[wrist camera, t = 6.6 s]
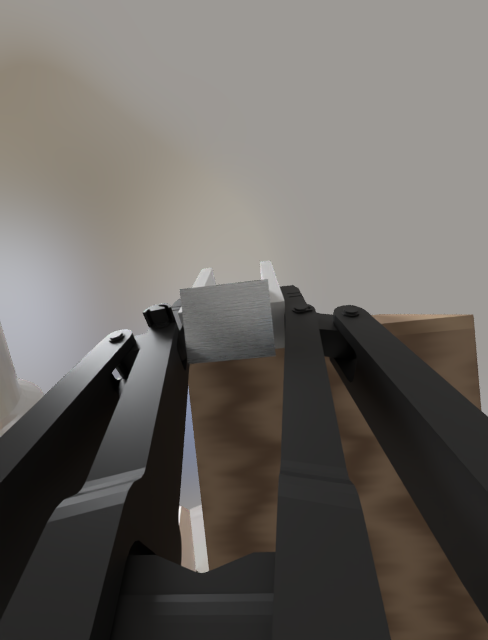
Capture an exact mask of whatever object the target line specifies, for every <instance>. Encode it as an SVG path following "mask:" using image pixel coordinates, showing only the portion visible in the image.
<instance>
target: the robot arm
mask: <svg viewBox="0 0 488 640" xmlns="http://www.w3.org/2000/svg"><path fill="white" fill-rule="evenodd" d="M260 268H261V280H264V279H268V284H269V294H270V304H271V314H272V323H273V333H274V343H275V349H278V348H285V351H284V380H283V408H282V436H281V464H280V472H279V481H278V501H277V525H276V550H275V552H253V553H251V554H248V555H246V556H244V557H241V558H239V559H236V560H234V561H232V562H229V563H227V564H225V565H222V566H220V567H218V568H215V569H213V570H210V571H208V572H205V573H197V572H195V571H192V570H190V569H188V568H185V567H183V566H181V560H182V541H181V533H180V527H179V500H180V488H181V474H182V460H183V447H184V434H185V421H186V407H187V394H188V380H189V367H190V364H188V359H187V350H186V341H185V332H184V323H183V314H182V305H181V299H179V300H177V301H176V302H175V303H174V304H173V306H172V308H171V305H170V304H165V303H162V304H157V305H153V306H151V307H149V308H147V309H146V310H144V312H143V315H144V317H145V319H146V321H147V324H148V326H149V328H148V331H147V333H145V334H141V335H138V336H133V333H132V331H130V330H126V329H125V330H118V331H115V332H113V333H111V334H109V335H108V336H106V337H105V338H104V339H103V340H102V341H101V342H100V343H99V344H98V345H97V346H96V347H95V348H93V349H92V350H91V351H90V352H89V353H88V354H87V355H86V356H85V357H84V358H83V359H82V360H81V361H80V362H79V363H78V364H77V365H76V366H75V367H74V368H73V369H71V370H70V371H69V372H68V373H67V374H66V375H65V376H64V377H63V378H62V379H61V380H60V381H59V382H58V383H57V384H56V385H55V386H54V387H53V388H51V390H49V391H48V392H47V393H46V394H45V395H44V394H43V392H42V390H41V389H40V388H39V387H38V386H37V385H35V384H34V383H32V382H29V381H26V380H22V379H18V378H17V376H16V373H15V369H14V366H13V363H12V359H11V356H10V353H9V349H8V346H7V343H6V340H5V336H4V333H3V330H2V326H1V323H0V640H391V636H390V632H389V627H388V623H387V618H386V614H385V609H384V605H383V600H382V596H381V591H380V587H379V582H378V578H377V573H376V569H375V564H374V560H373V555H372V551H371V546H370V542H369V537H368V533H367V528H366V523H365V519H364V514H363V510H362V506H361V502H360V499H359V495H358V492H357V490H356V487H355V485H354V484H353V483H352V482H351V481H350V479H349V476H348V472H347V468H346V463H345V458H344V453H343V448H342V443H341V438H340V433H339V428H338V423H337V418H336V412H335V407H334V402H333V397H332V392H331V387H330V382H329V377H328V372H327V367H326V362H325V357H329V359H330V362H331V363H332V365H333V367H334V368H335V370H336V372H337V373H338V375H339V377H340V378H341V380H342V382H343V383H344V385H345V387H346V388H347V390H348V392H349V394H350V395H351V397H352V399H353V400H354V402H355V404H356V405H357V407H358V409H359V410H360V412H361V414H362V415H363V417H364V419H365V420H366V422H367V424H368V426H369V427H370V429H371V431H372V432H373V434H374V436H375V437H376V439H377V441H378V442H379V444H380V446H381V447H382V449H383V451H384V452H385V454H386V456H387V458H388V459H389V461H390V463H391V464H392V466H393V468H394V469H395V471H396V473H397V474H398V476H399V478H400V479H401V481H402V483H403V484H404V486H405V488H406V490H407V491H408V493H409V495H410V496H411V498H412V500H413V501H414V503H415V505H416V506H417V508H418V510H419V511H420V513H421V515H422V516H423V518H424V520H425V521H426V523H427V525H428V527H429V528H430V530H431V532H432V533H433V535H434V537H435V538H436V540H437V542H438V543H439V545H440V547H441V548H442V550H443V552H444V553H445V555H446V557H447V559H448V560H449V562H450V564H451V565H452V567H453V569H454V570H455V572H456V574H457V575H458V577H459V579H460V580H461V582H462V584H463V585H464V587H465V588H466V590H467V592H468V593H469V595H470V596H471V598H472V600H473V601H474V603H475V604H476V606H477V607H478V609H479V611H480V612H481V614H482V615H483V617H484V618H485V620H486V622H487V623H488V417H487V416H486V415H485V414H484V413H483V412H482V411H481V410H479V409H478V408H477V407H476V406H475V405H474V404H473V403H471V402H470V401H469V400H468V399H467V398H466V397H465V396H463V395H462V394H461V393H460V392H459V391H458V390H456V389H455V388H454V387H453V386H452V385H451V384H450V383H448V382H447V381H446V380H445V379H444V378H443V377H441V376H440V375H439V374H438V373H437V372H436V371H435V370H433V369H432V368H431V367H430V366H429V365H428V364H427V363H425V362H424V361H423V360H422V359H421V358H420V357H418V356H417V355H416V354H415V353H414V352H413V351H412V350H410V349H409V348H408V347H407V346H406V345H405V344H404V343H402V342H401V341H400V340H399V339H398V338H397V337H395V336H394V335H393V334H392V333H391V332H390V331H389V330H387V329H386V328H385V327H384V326H383V325H382V324H381V323H379V322H378V321H377V320H376V319H375V318H374V317H372V316H371V315H370V314H369V313H368V312H367V311H365V310H364V309H362V308H360V307H357V306H353V305H352V306H351V305H346V306H340V307H337V308H336V309H335V310H334V314H333V315H329V314H320V313H316V311H315V308H314V307H313V306H311V305H309V304H306V302H305V300H304V298H303V296H302V294H301V293H300V291H299V289H298V288H297V287H295V286H293V285H292V286H282V287H280V286H279V284H278V281H277V278H276V275H275V272H274V270H273V267H272V264H271V261H262V262H260ZM212 285H216V283H215V278H214V274H213V269H212V268H205V269H202V270H201V272H200V274H199V276H198V277H197V279H196V281H195V283H194V285H193V286H192V288H195V287H204V286H212ZM324 356H325V357H324ZM115 368H116V369H117V371H118V372H119V374H120V376H119V377H118V378H117V379H115V378H114V376H113V374H112V372H113V370H114V369H115Z"/></svg>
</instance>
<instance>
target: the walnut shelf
mask: <svg viewBox="0 0 488 640" xmlns="http://www.w3.org/2000/svg"><path fill="white" fill-rule="evenodd" d="M371 316H372V317H374V318H375V319H376V320H377V321H378V322H379V323H381V324H382V325H383V326H384V327H385V328H386V329H387V330H389V331H390V332H391V333H392V334H393V335H394V336H395V337H397V338H398V339H399V340H400V341H401V342H402V343H404V344H405V345H406V346H407V347H408V348H409V349H410V350H412V351H413V352H414V353H415V354H416V355H417V356H418V357H420V358H421V359H422V360H423V361H424V362H425V363H427V364H428V365H429V366H430V367H431V368H432V369H433V370H435V371H436V372H437V373H438V374H439V375H440V376H441V377H443V378H444V379H445V380H446V381H447V382H448V383H450V384H451V385H452V386H453V387H454V388H455V389H456V390H458V391H459V392H460V393H461V394H462V395H463V396H465V397H466V398H467V399H468V400H469V401H470V402H471V403H473V404H474V405H475V406H476V407H477V408H478V409H479V410H481V402H480V389H479V378H478V365H477V353H476V342H475V329H474V317H473V315H417V314H414V315H413V314H410V315H409V314H407V315H406V314H403V315H402V314H392V315H391V314H379V315H371ZM284 351H285V348H278V349H275V353H276V356H273V357H262V358H251V359H240V360H229V361H218V362H207V363H196V364H190V367H189V380H188V386H189V395H190V403H191V412H192V421H193V430H194V439H195V448H196V457H197V466H198V475H199V484H200V493H201V501H202V511H203V520H204V529H205V537H206V546H207V555H208V564H209V571H210V570H213V569H215V568H218V567H220V566H222V565H225V564H227V563H229V562H232V561H234V560H236V559H239V558H241V557H244V556H246V555H248V554H251V553H253V552H275V550H276V525H277V501H278V481H279V472H280V464H281V436H282V408H283V380H284ZM324 357H325V356H324ZM325 362H326V367H327V372H328V377H329V382H330V387H331V392H332V397H333V402H334V407H335V412H336V418H337V423H338V428H339V433H340V438H341V443H342V448H343V453H344V458H345V463H346V468H347V472H348V476H349V479H350V481H351V482H352V483H353V484H354V485H355V487H356V490H357V492H358V495H359V499H360V502H361V506H362V510H363V514H364V519H365V523H366V528H367V533H368V537H369V542H370V546H371V551H372V555H373V560H374V564H375V569H376V573H377V578H378V582H379V587H380V591H381V596H382V600H383V605H384V609H385V614H386V618H387V623H388V627H389V632H390V636H391V640H488V623H487V622H486V620H485V618H484V617H483V615H482V614H481V612H480V611H479V609H478V607H477V606H476V604H475V603H474V601H473V600H472V598H471V596H470V595H469V593H468V592H467V590H466V588H465V587H464V585H463V584H462V582H461V580H460V579H459V577H458V575H457V574H456V572H455V570H454V569H453V567H452V565H451V564H450V562H449V560H448V559H447V557H446V555H445V553H444V552H443V550H442V548H441V547H440V545H439V543H438V542H437V540H436V538H435V537H434V535H433V533H432V532H431V530H430V528H429V527H428V525H427V523H426V521H425V520H424V518H423V516H422V515H421V513H420V511H419V510H418V508H417V506H416V505H415V503H414V501H413V500H412V498H411V496H410V495H409V493H408V491H407V490H406V488H405V486H404V484H403V483H402V481H401V479H400V478H399V476H398V474H397V473H396V471H395V469H394V468H393V466H392V464H391V463H390V461H389V459H388V458H387V456H386V454H385V452H384V451H383V449H382V447H381V446H380V444H379V442H378V441H377V439H376V437H375V436H374V434H373V432H372V431H371V429H370V427H369V426H368V424H367V422H366V420H365V419H364V417H363V415H362V414H361V412H360V410H359V409H358V407H357V405H356V404H355V402H354V400H353V399H352V397H351V395H350V394H349V392H348V390H347V388H346V387H345V385H344V383H343V382H342V380H341V378H340V377H339V375H338V373H337V372H336V370H335V368H334V367H333V365H332V363H331V362H330V359H329V357H325Z"/></svg>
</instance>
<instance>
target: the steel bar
mask: <svg viewBox="0 0 488 640" xmlns="http://www.w3.org/2000/svg"><path fill="white" fill-rule="evenodd" d="M180 296H181V305H182V314H183V323H184V332H185V341H186V350H187V359H188V364H196V363H207V362H218V361H229V360H240V359H251V358H262V357H273V356H276V353H275V343H274V333H273V323H272V314H271V304H270V294H269V284H268V279H264V280H255V281H247V282H238V283H230V284H221V285H212V286H204V287H195V288H187V289H180Z"/></svg>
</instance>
